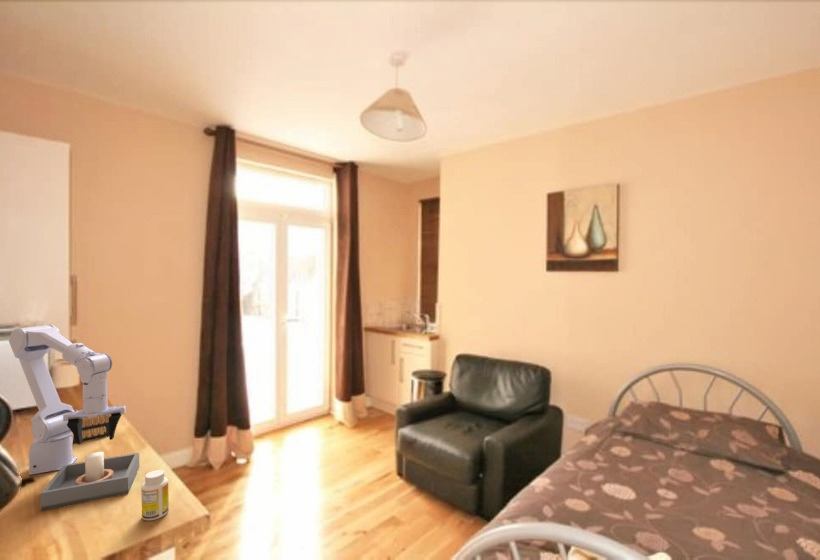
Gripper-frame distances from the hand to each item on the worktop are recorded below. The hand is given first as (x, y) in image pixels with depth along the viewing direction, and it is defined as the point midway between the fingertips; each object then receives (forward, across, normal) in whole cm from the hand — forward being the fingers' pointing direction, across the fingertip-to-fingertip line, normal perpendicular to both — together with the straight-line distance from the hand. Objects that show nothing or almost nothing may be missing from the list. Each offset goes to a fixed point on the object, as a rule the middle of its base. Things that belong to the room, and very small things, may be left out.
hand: (96, 440), depth 116 cm
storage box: (+9, +2, -10) cm, 14 cm away
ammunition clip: (+10, -8, +30) cm, 33 cm away
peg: (+8, +2, -10) cm, 13 cm away
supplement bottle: (+10, +19, -32) cm, 38 cm away
